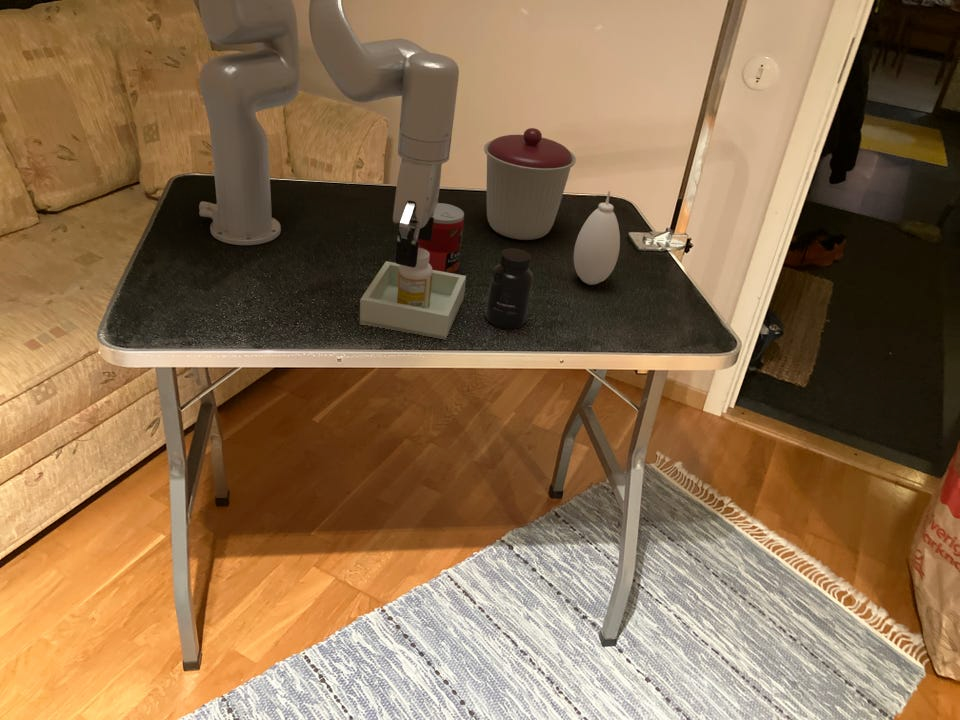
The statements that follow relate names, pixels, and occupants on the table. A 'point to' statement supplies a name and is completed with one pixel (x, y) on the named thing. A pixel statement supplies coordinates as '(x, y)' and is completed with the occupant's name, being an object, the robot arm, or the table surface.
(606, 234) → the air blower bulb
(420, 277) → the supplement bottle
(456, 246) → the canned food
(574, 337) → the table surface
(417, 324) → the bin
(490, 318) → the supplement bottle
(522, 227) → the canister
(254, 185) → the robot arm
